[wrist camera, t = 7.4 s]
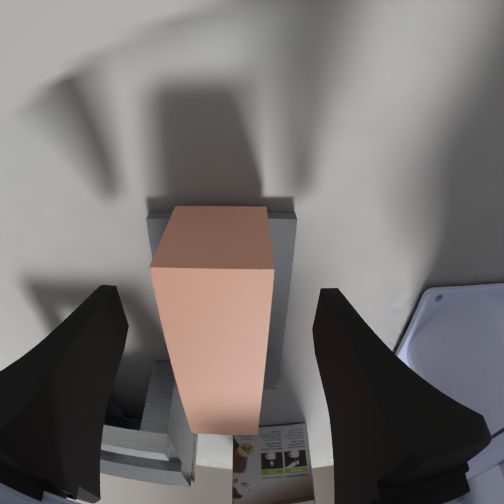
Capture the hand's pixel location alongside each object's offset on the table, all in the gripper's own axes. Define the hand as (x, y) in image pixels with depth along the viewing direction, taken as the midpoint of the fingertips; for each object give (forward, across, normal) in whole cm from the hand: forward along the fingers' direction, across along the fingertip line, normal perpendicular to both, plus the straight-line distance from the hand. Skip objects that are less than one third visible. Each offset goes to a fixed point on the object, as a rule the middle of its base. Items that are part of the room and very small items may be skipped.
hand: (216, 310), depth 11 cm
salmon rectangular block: (+3, 0, +3) cm, 4 cm away
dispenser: (+4, +7, +13) cm, 15 cm away
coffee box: (+4, -4, +22) cm, 22 cm away
